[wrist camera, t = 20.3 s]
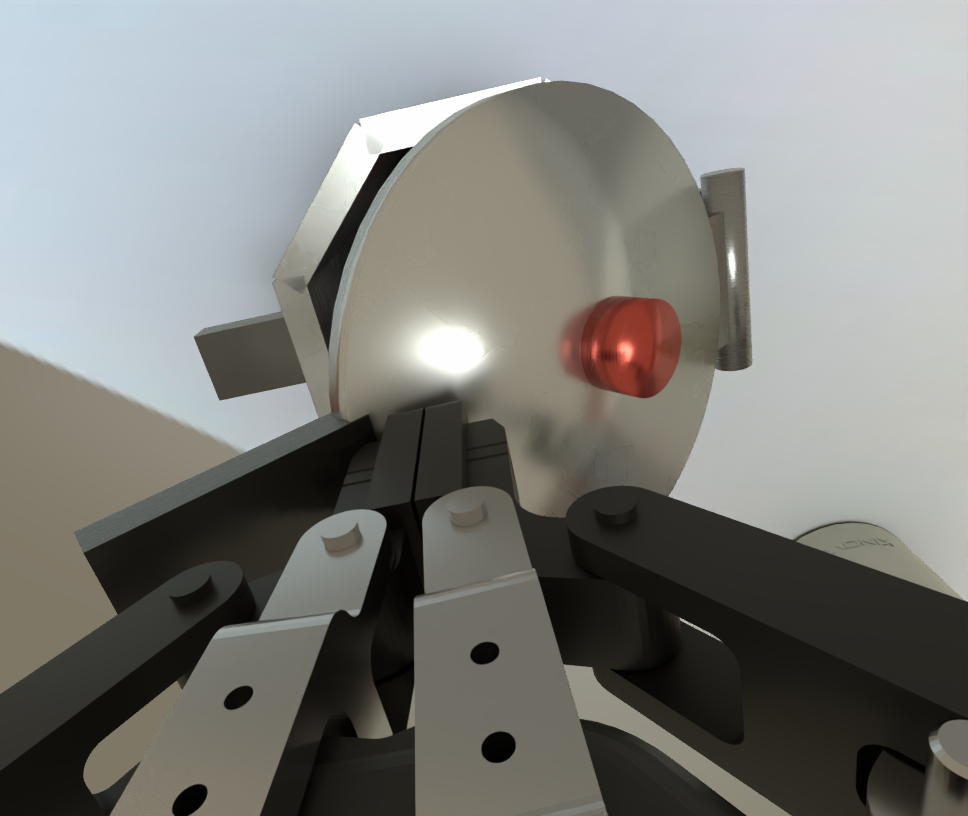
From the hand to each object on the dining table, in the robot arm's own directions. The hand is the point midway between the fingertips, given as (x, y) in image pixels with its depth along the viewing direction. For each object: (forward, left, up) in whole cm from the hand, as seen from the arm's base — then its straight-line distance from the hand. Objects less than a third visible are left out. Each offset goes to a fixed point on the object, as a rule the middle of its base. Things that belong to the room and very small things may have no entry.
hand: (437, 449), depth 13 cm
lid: (0, -2, -3) cm, 4 cm away
